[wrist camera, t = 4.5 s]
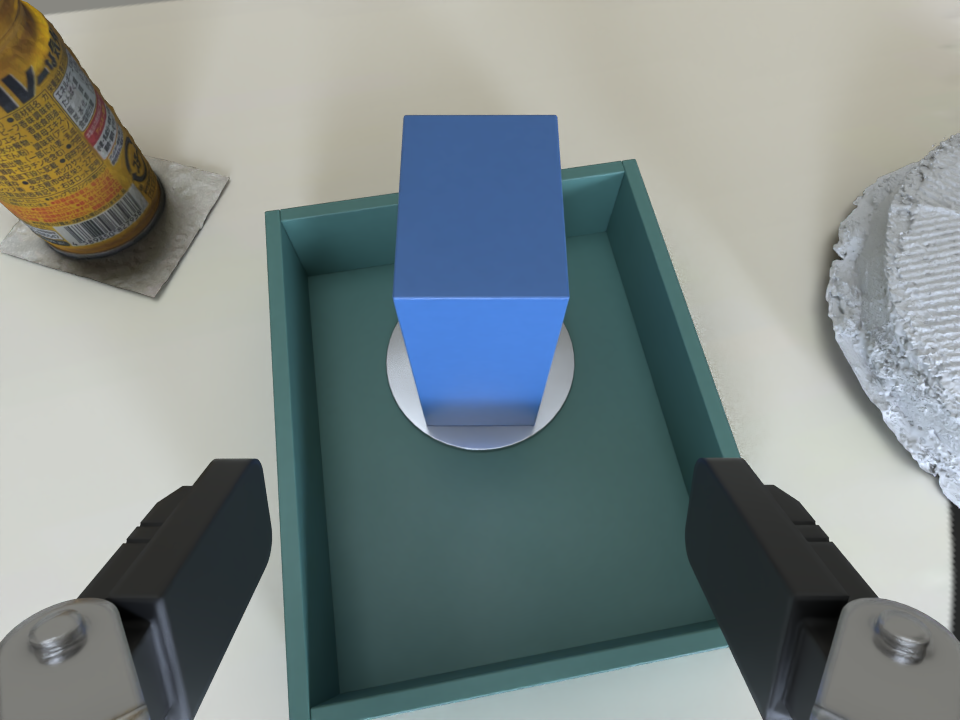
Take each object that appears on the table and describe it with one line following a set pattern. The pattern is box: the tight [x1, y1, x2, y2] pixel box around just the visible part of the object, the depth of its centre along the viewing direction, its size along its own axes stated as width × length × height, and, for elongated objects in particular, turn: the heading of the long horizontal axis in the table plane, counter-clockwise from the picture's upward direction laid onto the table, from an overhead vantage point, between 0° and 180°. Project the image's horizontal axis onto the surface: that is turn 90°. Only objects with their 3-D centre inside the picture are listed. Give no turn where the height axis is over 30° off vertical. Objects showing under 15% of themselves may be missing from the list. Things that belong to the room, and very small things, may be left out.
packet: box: [392, 115, 570, 426], centre depth 21 cm, size 4×6×10 cm
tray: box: [265, 159, 741, 720], centre depth 24 cm, size 15×18×5 cm
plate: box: [386, 321, 575, 452], centre depth 26 cm, size 8×8×1 cm
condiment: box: [0, 0, 229, 297], centre depth 25 cm, size 7×8×12 cm
